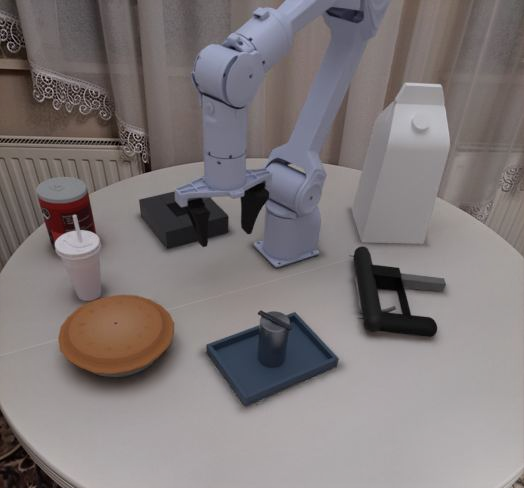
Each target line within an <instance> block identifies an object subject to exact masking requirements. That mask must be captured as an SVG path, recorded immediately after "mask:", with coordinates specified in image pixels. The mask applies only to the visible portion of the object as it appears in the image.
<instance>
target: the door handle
mask: <svg viewBox="0 0 524 488" xmlns="http://www.w3.org/2000/svg"><path fill="white" fill-rule="evenodd" d="M348 256H349V257H353V263H354V270H355V277H354V282H355V287H356V293H357V301H358V307H359V314H361V316H362V317H358V319H360V320H362V323H363V327H364V330H366V331H367V332H368V333H372V334H373V333H374V334H376V333H379V332H381V333H388V334H389V333H390V334H397V335H398V334H399V335H407V336H415V337H424V338H432V337H435V335H436V334H437V332H438V325H437V322H436V321H435V319H434V318H432V317H430V316H424V315H423V316H422V315H414V314H412V313H411V309H410V305H409V301H408V296H407V293H406V289H405V288H407V289H415V290H424V291H431V292H438V293H439V292H441V293H443V292H444V290H445V288H446V286H447V283H446V280H445V277H438V276H437V277H435V276H429V275H419V274H412V273H402V272H401V268H400V267H397V266H396V267H395V266H388V265H380V264H373V259H372V255H371V252H370V251H369V248H368V247H367V246H363V245H362V246H358V247H357V248H356V249H355V250H354V252H353V255H348ZM379 290H385V291H393V292H396V294H397V297H398V298H397V299H398V302H399V306H400V310H401V313H397V312H393V311H395V310H397V307H396V306H395V305H392V306H390V307H387V308H382V306H381V302H380V296H379Z"/></svg>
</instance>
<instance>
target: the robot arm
mask: <svg viewBox="0 0 524 488" xmlns="http://www.w3.org/2000/svg"><path fill="white" fill-rule="evenodd" d="M391 2H392V0H285V1H284V2H282V3H281V4H280V6H278V8H276V9H275V8H274V7H273V8H272V7H269V6H268V7H257V9H255V10H254V11H253V12H252V17H251V18H250V19H248V21H246V22H245V23H244V24H243V25H242V26H240V27H239V28H238V29H237V30H236V31H235V32H232V33H230V34H229V35H228V36H227V37H226V39H225V40H224V41H223V42H222V43H220V44H218V43H215V44H214V43H211V44H209V45H207V46H205V47H204V48H202V49H201V50H200V52H199V53H198V54H197V55H196V58H195V60H194V63H193V69H192V71H191V72H190V80H191V81H190V82H191V84H192V86H193V89H194V90H195V91H196V93H197V95H198V105H199V106H200V108H201V111H202V140H203V141H202V142H203V143H202V145H203V173H204V174H203V175H202V176H201V177H198V178H196V179H194V180H192V181H190V182H188V183H186V184H183V185H181V186H178V187H174V189H173V190H174V191H173V192H175V201H176V202H177V204H178V205H179V206H180V207H184V208H185V210H186V212H187V214H188V216H189V218H190V220H191V222H192V225H193V227H194V230H195V233H196V237H197V241H196V242H197V243H198V244H199V245H200V246H201V247H202V248H205V247H208V244H209V243H208V242H209V238H208V233H207V228H208V220H209V216H210V211H209V210H208V209H207V208H206V207H205V203H204V202H203V199H207V198H211V199H212V198H220V197H229V198H230V199H233V200H234V199H239V198H240V225H241V226H240V227H241V230H242V231H244V232H245V233H246V234H247V235H251V234H252V233H253V230H254V227H255V224H256V221H257V219H258V216H259V214H260V213H261V210H262V209H263V207H264V206H265V211H264V227H263V239H262V240H258V241H255V242H253V247H254V248H255V250H257V251H258V252H259V253H260V254H261V255H262V256H263V257H264V258H265V259H266V260H267V261H268V262H269V263H270V264H271V265H272V266H273V267H274V268H280V267H281V268H282V267H284V266H287V265H290V264H293V263H296V262H299V261H302V260H306V259H309V258H312V257H315V256H318V255H320V251H319V250H318V245H319V238H320V232H321V227H322V226H321V225H322V216H321V210H320V207H319V206H318V205H319V203H320V201H321V198H322V194H323V188H324V184H325V182H326V178H327V176H328V173H327V171H326V169H325V166H324V164H323V161H322V160H321V157H320V155H321V154H320V153H321V151H322V150H323V147H324V144H325V141H326V140H327V138H328V135H329V133H330V131H331V129H332V127H333V124H334V121H335V119H336V117H337V114H338V112H339V111H340V108H341V106H342V103H343V101H344V99H345V96H346V94H347V91H348V90H349V87H350V85H351V82H352V80H353V78H354V76H355V73H356V71H357V69H358V66H359V64H360V62H361V59H362V57H363V55H364V53H365V50H366V48H367V45H368V43H369V41H370V39H373V38H375V37H376V36H377V33H378V31H379V29H380V27H381V24H382V22H383V19H384V17H385V15H386V13H387V11H388V9H389V6H390V3H391ZM320 16H321V17H322V20H323V23H324V24H325V25H326V27H328V28H329V31H330V41H329V43H328V45H327V48H326V49H325V53H324V55H323V58H322V60H321V62H320V65H319V67H318V69H317V72H316V74H315V77H314V79H313V82H312V84H311V86H310V89H309V91H308V94H307V97H306V98H305V101H304V103H303V106H302V108H301V111H300V113H299V115H298V118H297V121H296V123H295V126H294V128H293V130H292V133H291V135H290V137H289V140H288V142H287V143H284V144H282V145H280V146H277V147H275V148H273V149H272V150H271V152H270V154H269V157H268V158H267V160H266V162H265V163H264V164H263V166H262V167H261V168H249V169H247V147H248V146H247V143H248V117H249V116H248V115H249V114H248V113H249V104H251V103H252V102H253V101H254V99H255V97H256V95H257V93H258V91H259V87H260V85H261V83H262V82H263V81H264V79H265V77H266V73H268V72H269V71H270V70H271V69H273V67H274V66H275V65H276V64H278V63H279V62H280V61H281V60H282V59H283V58H284V57H285V56H287V55H288V54H289V53H290V52H291V50H292V48H293V44H294V37H293V36H295V35H297V33H299V32H300V31H301V30H303V29H304V28H305V27H307V26H308V25H309V24H310V23H312V22H314V20H316V19H317V18H318V17H320ZM290 165H294V166H296V167H299V168H300V169H302V170H303V171H304V172H303V171H301V170H299V169H297V168H295V167H293V166H290Z"/></svg>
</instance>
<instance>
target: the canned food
mask: <svg viewBox="0 0 524 488" xmlns="http://www.w3.org/2000/svg"><path fill="white" fill-rule="evenodd" d="M35 190H36V191H35V192H36V195H37V200H38V204H39V208H40V211H41V214H42V217H43V221H44V225H45V227H46V231H47V233H48V234H47V235H48V238H49V242H50V244H51V247H52V249H53V250H54V251H55V252H56V250H55V249H56V248H55V241H56V240H57V238H59V237H60V236H61V235H63V234H65V233H67V232H71V231H76V229H75V224H74V220H73V215H77V219H78V224H79V228H80V230H85V231H90V232H93V233H95V234H96V235H97V236H98V234H97V229H96V224H95V223H96V222H95V219H94V214H93V209H92V204H91V199H90V195H89V190H88V187H87V184H86V183H85V181H83V180H81V179H80V178H77V177H71V176H57V177H52V178H48V179H46V180H45V179H44V181H41V182H40V183H39V184H38V185H37V186H36V189H35Z"/></svg>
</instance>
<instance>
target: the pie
mask: <svg viewBox="0 0 524 488" xmlns="http://www.w3.org/2000/svg"><path fill="white" fill-rule="evenodd" d="M174 331H175V322H174V320H173V318H172V315H171V314H170V313H169V312H168V310H167V309H165V307H163V306H162V305H161V304H159V303H157V302H156V301H154V300H152V299H151V298H147V297H143V296H139V295H135V294H134V295H133V294H132V295H131V294H119V295H111V296H105V297H102V298H101V297H100V298H97V299H95V300H92V301H88V302H87V303H85V304H83V305H81V306H79V307H78V308H76V309H75V310H74V311H73V312H72V313H70V314H69V315H68V316H67V318H66V319H65V320H64V322H63V323H62V324H61V326H60V329H59V332H58V337H57V339H58V347H59V351H60V352H61V353H62V355H63V357H64V358H65V359H66V360H67V361H68V362H70V363H71V364H73V365H75V366H76V367H79V368H81V369H83V370H87V371H88V372H90V373H92V374H95V375H98V376H102V377H105V378H123V377H124V378H125V377H130V376H133V375H135V374H138V373H141V372H143V371H144V370H145V369H147V368H149V367H150V366H151V365H152V364H154V362H155V361H156V360H157V359H158V358H159V357H161V355H162V354H163V353H164V352H166V350H167V349H168V348H169V347H170V344H171V341H172V339H173V336H174V333H175V332H174Z"/></svg>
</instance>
